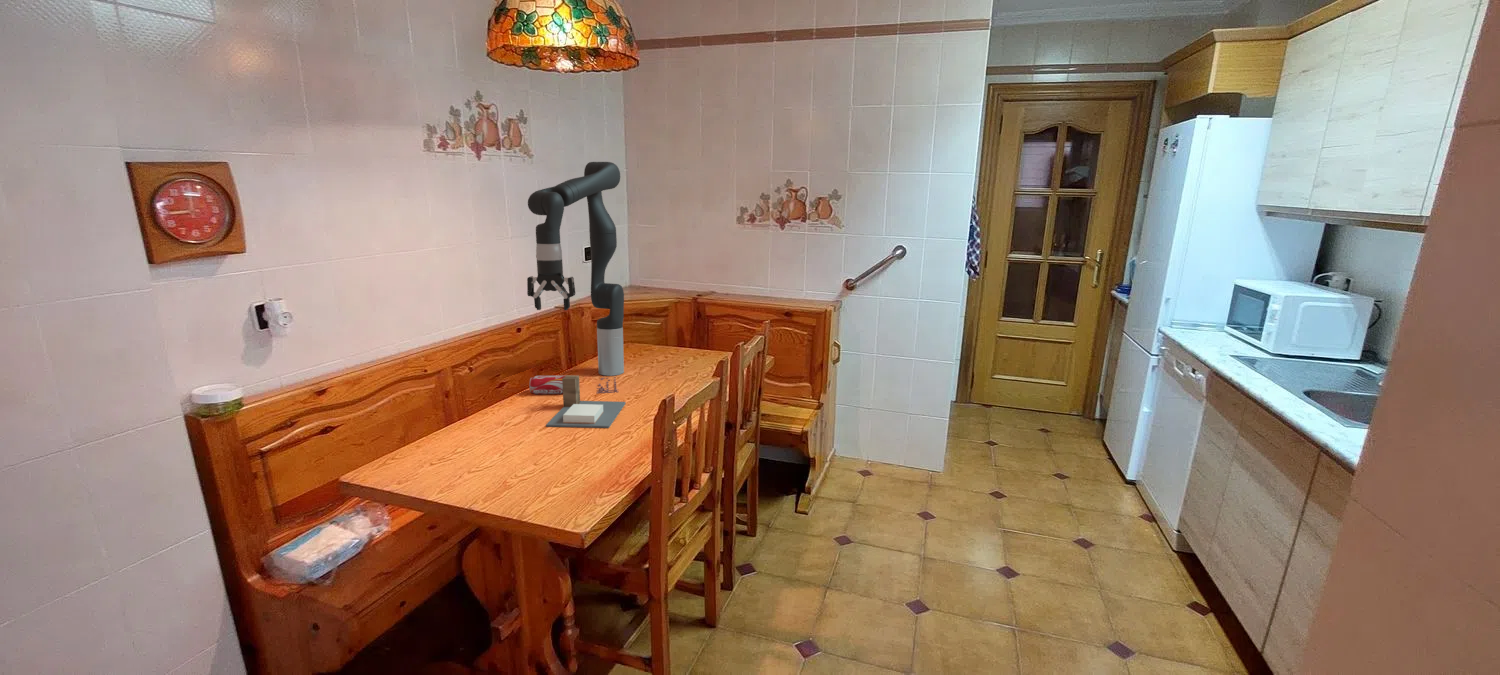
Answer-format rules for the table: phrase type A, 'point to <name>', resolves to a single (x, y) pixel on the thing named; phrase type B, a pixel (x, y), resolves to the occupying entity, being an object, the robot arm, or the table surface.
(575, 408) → the tile
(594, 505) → the table surface
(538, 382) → the beverage can
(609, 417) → the mat
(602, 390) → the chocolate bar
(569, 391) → the block
